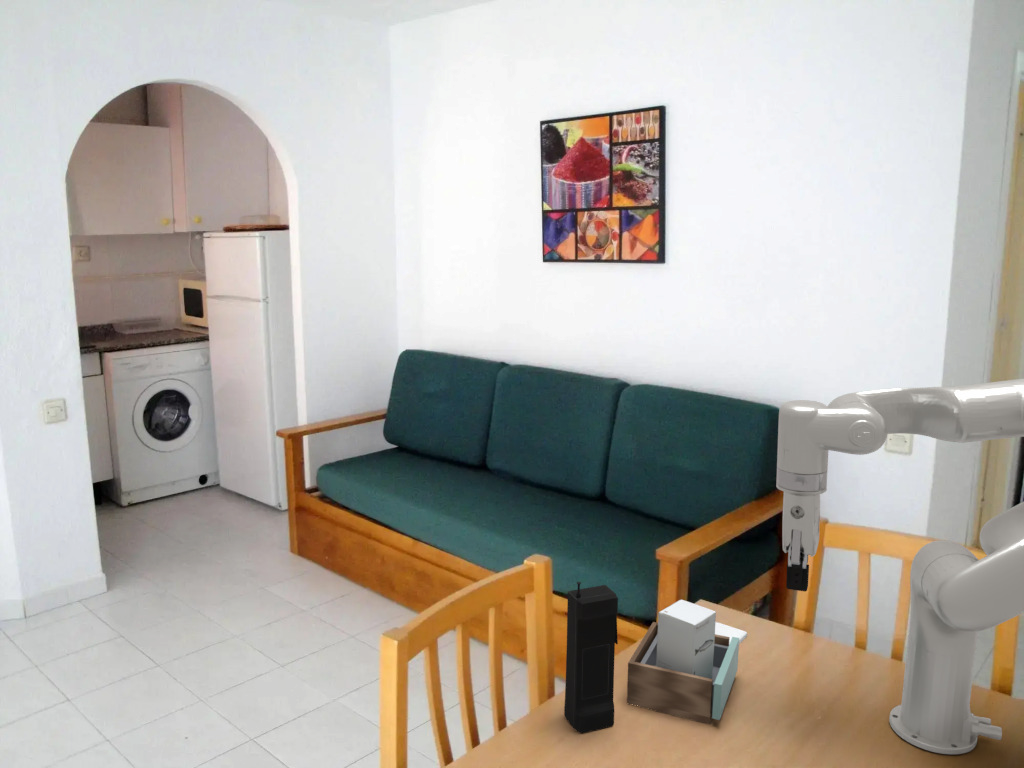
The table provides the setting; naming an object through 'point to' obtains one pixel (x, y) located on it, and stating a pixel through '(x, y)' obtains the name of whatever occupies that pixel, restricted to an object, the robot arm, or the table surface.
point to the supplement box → (686, 639)
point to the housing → (669, 685)
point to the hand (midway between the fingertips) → (797, 588)
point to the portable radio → (590, 658)
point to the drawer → (722, 671)
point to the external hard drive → (729, 632)
